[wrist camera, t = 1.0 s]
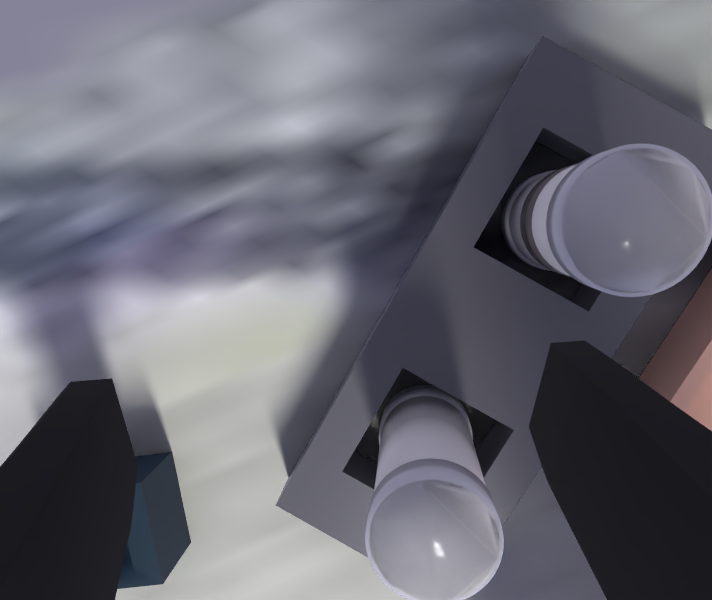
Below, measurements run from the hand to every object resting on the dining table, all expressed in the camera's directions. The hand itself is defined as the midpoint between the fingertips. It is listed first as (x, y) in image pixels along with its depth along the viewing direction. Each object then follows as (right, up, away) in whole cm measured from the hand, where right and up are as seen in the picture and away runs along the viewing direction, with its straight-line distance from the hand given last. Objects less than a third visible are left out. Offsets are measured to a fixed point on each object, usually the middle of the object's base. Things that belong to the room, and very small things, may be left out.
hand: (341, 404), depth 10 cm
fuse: (+3, -4, +15) cm, 16 cm away
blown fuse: (+8, +5, +14) cm, 17 cm away
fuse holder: (+6, +1, +15) cm, 16 cm away
